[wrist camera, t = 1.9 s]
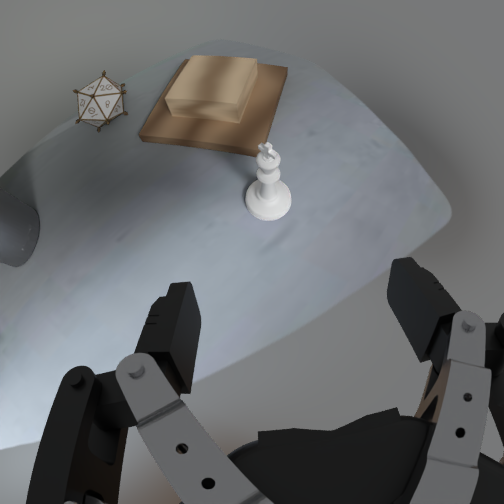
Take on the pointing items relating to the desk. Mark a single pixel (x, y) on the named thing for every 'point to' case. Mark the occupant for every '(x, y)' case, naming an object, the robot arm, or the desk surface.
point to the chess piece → (268, 187)
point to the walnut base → (220, 129)
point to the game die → (100, 102)
